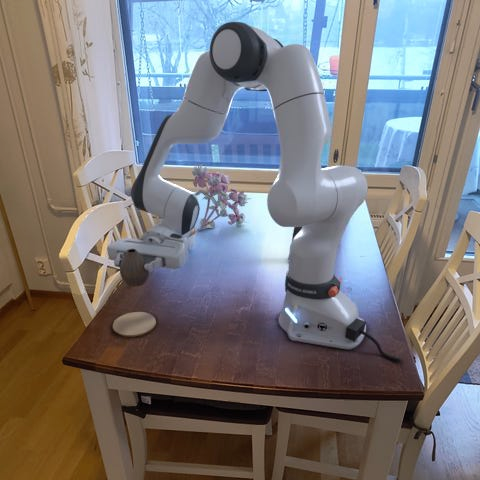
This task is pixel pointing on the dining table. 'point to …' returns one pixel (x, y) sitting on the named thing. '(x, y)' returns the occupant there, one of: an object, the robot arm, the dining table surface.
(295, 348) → the dining table surface
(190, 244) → the trinket box
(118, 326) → the cork trivet
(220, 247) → the dining table surface
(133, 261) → the vase
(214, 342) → the dining table surface
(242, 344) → the dining table surface
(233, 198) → the flower
